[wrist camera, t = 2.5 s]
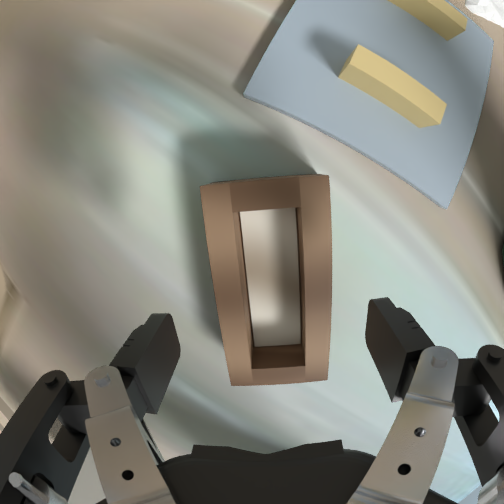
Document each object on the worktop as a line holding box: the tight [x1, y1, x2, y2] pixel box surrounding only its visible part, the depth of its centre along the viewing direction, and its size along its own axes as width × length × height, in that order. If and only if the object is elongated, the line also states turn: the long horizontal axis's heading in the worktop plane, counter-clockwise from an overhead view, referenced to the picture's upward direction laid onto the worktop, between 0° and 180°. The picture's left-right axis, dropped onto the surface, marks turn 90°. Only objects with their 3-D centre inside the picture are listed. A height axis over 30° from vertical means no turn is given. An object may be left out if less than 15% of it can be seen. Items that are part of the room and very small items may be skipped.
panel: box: [243, 0, 494, 209], centre depth 11 cm, size 16×14×3 cm
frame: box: [200, 174, 332, 386], centre depth 16 cm, size 12×6×3 cm, turn 6°
